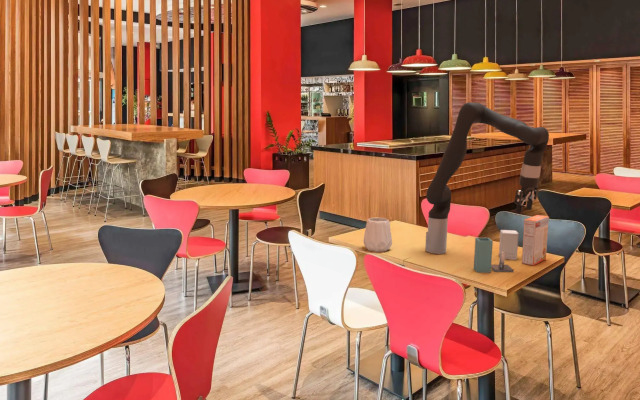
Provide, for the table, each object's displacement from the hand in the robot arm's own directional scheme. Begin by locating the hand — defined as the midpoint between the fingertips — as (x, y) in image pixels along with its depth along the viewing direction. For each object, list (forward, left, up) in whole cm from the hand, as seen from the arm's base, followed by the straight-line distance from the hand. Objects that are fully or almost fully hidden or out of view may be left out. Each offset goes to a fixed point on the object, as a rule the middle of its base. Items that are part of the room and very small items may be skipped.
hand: (523, 211), depth 228 cm
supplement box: (-12, +17, -27) cm, 33 cm away
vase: (-66, -13, -27) cm, 72 cm away
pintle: (-6, -4, -26) cm, 27 cm away
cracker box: (0, +18, -27) cm, 32 cm away
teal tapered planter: (-12, -11, -26) cm, 31 cm away
